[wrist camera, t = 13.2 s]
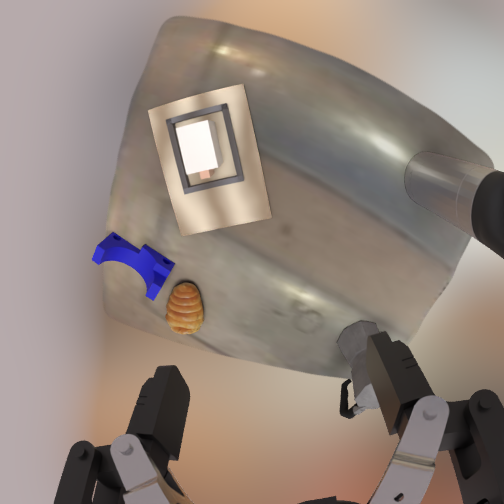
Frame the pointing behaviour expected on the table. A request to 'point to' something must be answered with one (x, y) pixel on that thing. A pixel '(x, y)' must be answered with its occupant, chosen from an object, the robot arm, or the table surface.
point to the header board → (225, 176)
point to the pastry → (185, 309)
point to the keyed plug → (200, 148)
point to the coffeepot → (357, 368)
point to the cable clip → (136, 261)
